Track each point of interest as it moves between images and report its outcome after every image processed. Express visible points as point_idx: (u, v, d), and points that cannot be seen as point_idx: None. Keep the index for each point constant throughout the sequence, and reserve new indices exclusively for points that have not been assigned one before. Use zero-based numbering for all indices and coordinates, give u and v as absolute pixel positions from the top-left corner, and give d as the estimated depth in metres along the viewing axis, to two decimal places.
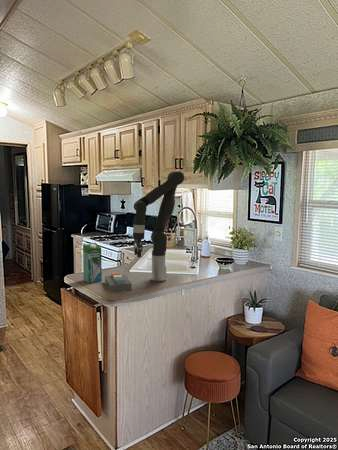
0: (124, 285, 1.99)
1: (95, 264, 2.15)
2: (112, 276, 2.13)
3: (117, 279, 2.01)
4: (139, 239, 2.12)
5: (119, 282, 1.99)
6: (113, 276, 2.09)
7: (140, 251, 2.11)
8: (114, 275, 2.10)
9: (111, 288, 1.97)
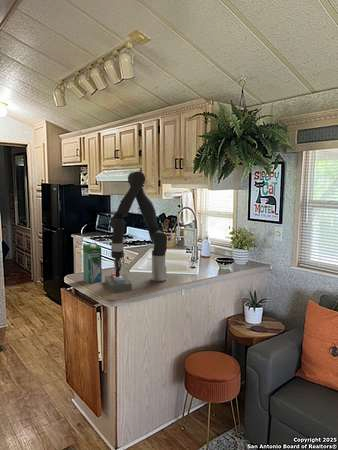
0: (124, 285, 1.99)
1: (95, 264, 2.15)
2: (112, 276, 2.13)
3: (117, 279, 2.01)
4: (118, 258, 2.04)
5: (119, 282, 1.99)
6: (113, 277, 2.09)
7: (118, 271, 2.07)
8: (114, 276, 2.10)
9: (111, 288, 1.97)
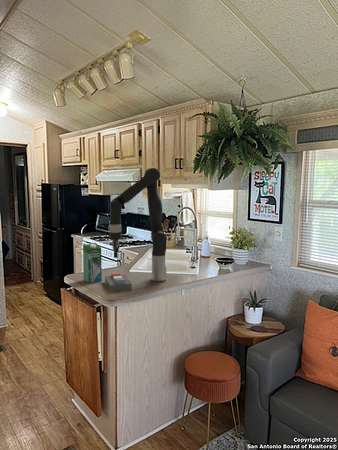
0: (124, 285, 1.99)
1: (95, 264, 2.15)
2: (112, 276, 2.13)
3: (117, 279, 2.01)
4: (116, 239, 2.09)
5: (119, 282, 1.99)
6: (113, 277, 2.09)
7: (116, 251, 2.12)
8: (114, 276, 2.10)
9: (111, 288, 1.97)
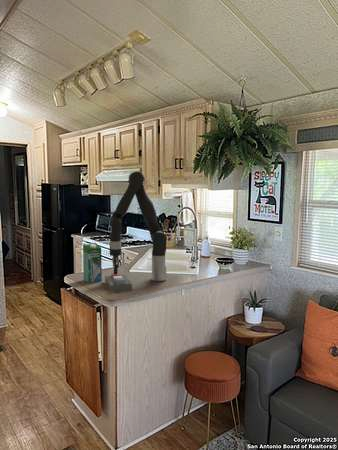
0: (124, 285, 1.99)
1: (95, 264, 2.15)
2: (112, 277, 2.13)
3: (117, 279, 2.01)
4: (116, 255, 2.10)
5: (119, 282, 1.99)
6: (113, 277, 2.09)
7: (116, 268, 2.13)
8: (114, 276, 2.10)
9: (111, 288, 1.97)
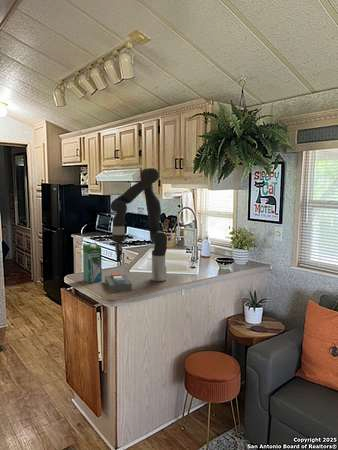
0: (124, 285, 1.99)
1: (95, 264, 2.15)
2: (112, 277, 2.13)
3: (117, 279, 2.01)
4: (119, 241, 1.97)
5: (119, 282, 1.99)
6: (113, 277, 2.09)
7: (119, 255, 2.00)
8: (114, 276, 2.10)
9: (111, 288, 1.97)
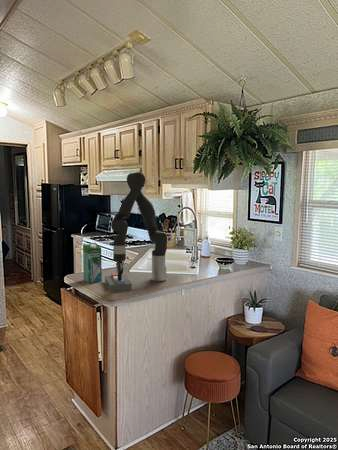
0: (124, 285, 1.99)
1: (95, 264, 2.15)
2: (112, 277, 2.13)
3: (117, 280, 2.01)
4: (120, 261, 1.97)
5: (119, 283, 1.99)
6: (113, 277, 2.09)
7: (120, 274, 2.00)
8: (114, 276, 2.10)
9: (111, 288, 1.97)
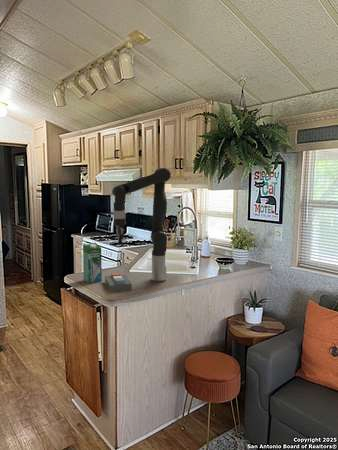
0: (124, 285, 1.99)
1: (95, 264, 2.15)
2: (112, 277, 2.13)
3: (117, 279, 2.01)
4: (120, 225, 2.05)
5: (119, 282, 1.99)
6: (113, 277, 2.09)
7: (121, 238, 2.09)
8: (114, 276, 2.10)
9: (111, 288, 1.97)
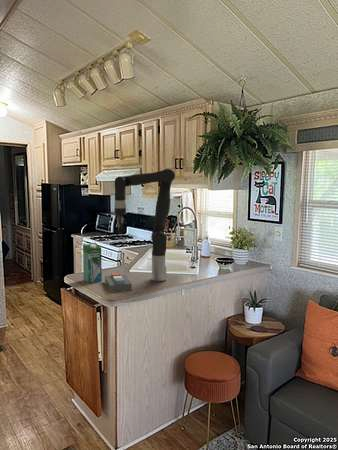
0: (124, 285, 1.99)
1: (95, 264, 2.15)
2: (112, 277, 2.13)
3: (117, 279, 2.01)
4: (121, 214, 2.12)
5: (119, 282, 1.99)
6: (113, 277, 2.09)
7: (121, 227, 2.15)
8: (114, 276, 2.10)
9: (111, 288, 1.97)
